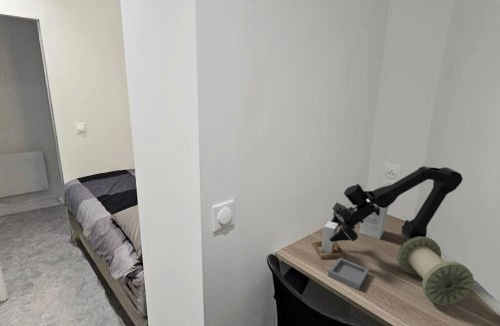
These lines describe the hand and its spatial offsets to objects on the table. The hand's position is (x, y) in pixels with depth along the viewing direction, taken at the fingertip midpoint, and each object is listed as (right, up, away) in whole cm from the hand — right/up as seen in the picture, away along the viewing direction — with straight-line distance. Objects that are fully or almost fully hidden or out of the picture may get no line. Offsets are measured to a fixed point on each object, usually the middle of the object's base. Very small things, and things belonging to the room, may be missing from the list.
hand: (328, 234), depth 113 cm
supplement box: (+26, -4, +19) cm, 33 cm away
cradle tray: (+4, -11, -13) cm, 17 cm away
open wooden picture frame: (0, -7, +2) cm, 7 cm away
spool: (+30, -14, -17) cm, 37 cm away
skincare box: (0, -7, +2) cm, 8 cm away
